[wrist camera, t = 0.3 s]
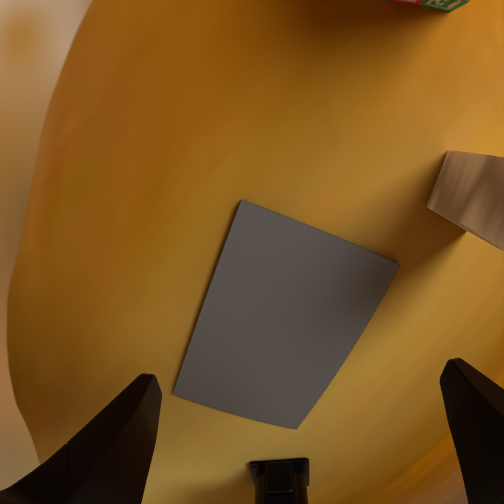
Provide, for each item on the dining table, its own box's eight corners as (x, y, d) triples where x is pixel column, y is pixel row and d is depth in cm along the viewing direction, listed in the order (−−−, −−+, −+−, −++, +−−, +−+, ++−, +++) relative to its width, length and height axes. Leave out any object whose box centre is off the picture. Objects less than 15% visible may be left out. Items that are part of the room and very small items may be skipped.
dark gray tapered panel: (295, 425, 27) (296, 429, 27) (174, 390, 27) (172, 394, 26) (396, 262, 22) (399, 265, 21) (241, 199, 21) (241, 200, 20)
